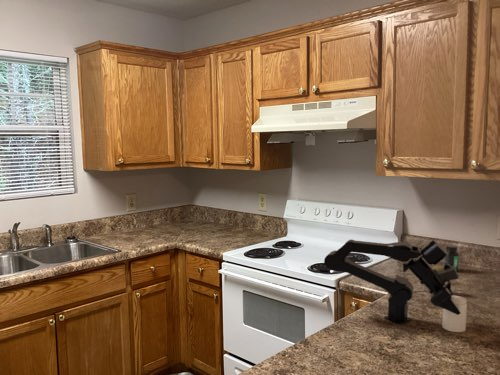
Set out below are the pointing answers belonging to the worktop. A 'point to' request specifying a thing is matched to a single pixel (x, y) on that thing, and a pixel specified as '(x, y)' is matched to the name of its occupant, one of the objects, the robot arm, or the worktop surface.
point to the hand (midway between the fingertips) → (458, 309)
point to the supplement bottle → (452, 257)
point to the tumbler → (455, 316)
